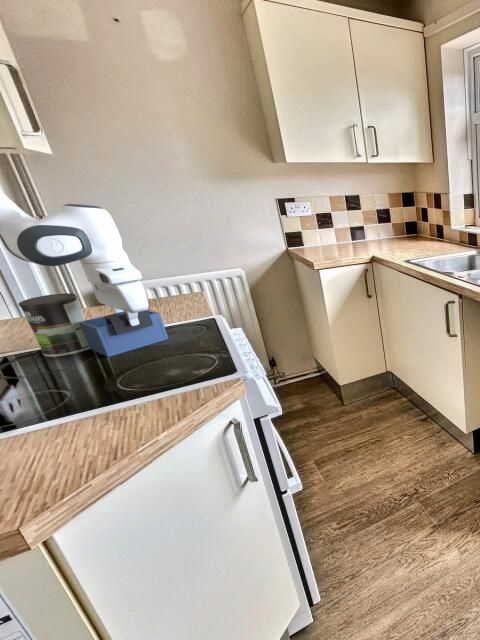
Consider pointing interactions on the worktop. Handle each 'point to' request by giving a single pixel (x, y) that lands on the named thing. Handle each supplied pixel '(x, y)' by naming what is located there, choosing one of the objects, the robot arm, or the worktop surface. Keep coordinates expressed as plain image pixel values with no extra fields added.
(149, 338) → the blue box
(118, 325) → the dark gray block
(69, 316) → the coffee can
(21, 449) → the worktop surface
